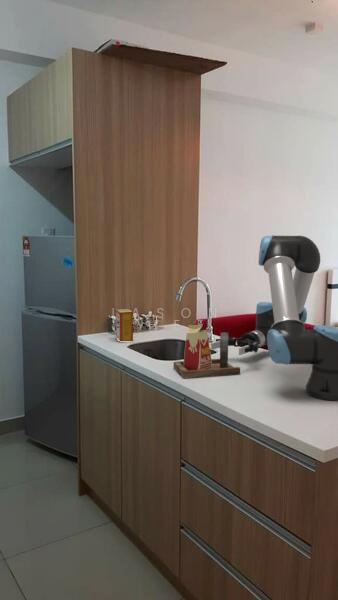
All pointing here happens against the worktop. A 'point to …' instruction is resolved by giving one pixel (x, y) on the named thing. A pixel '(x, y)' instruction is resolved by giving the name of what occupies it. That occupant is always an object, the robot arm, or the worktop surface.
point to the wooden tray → (218, 365)
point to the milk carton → (197, 349)
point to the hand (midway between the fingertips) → (225, 348)
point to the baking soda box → (124, 325)
